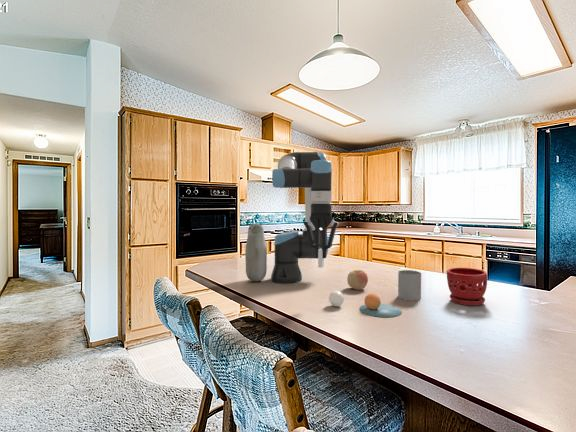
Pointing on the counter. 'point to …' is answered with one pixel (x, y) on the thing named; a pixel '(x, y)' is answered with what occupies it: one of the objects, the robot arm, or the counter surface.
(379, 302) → the orange ball
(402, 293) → the cup
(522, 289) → the counter surface
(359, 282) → the apple
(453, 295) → the plant pot
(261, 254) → the grey bottle
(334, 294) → the cue ball
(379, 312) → the teal mark
